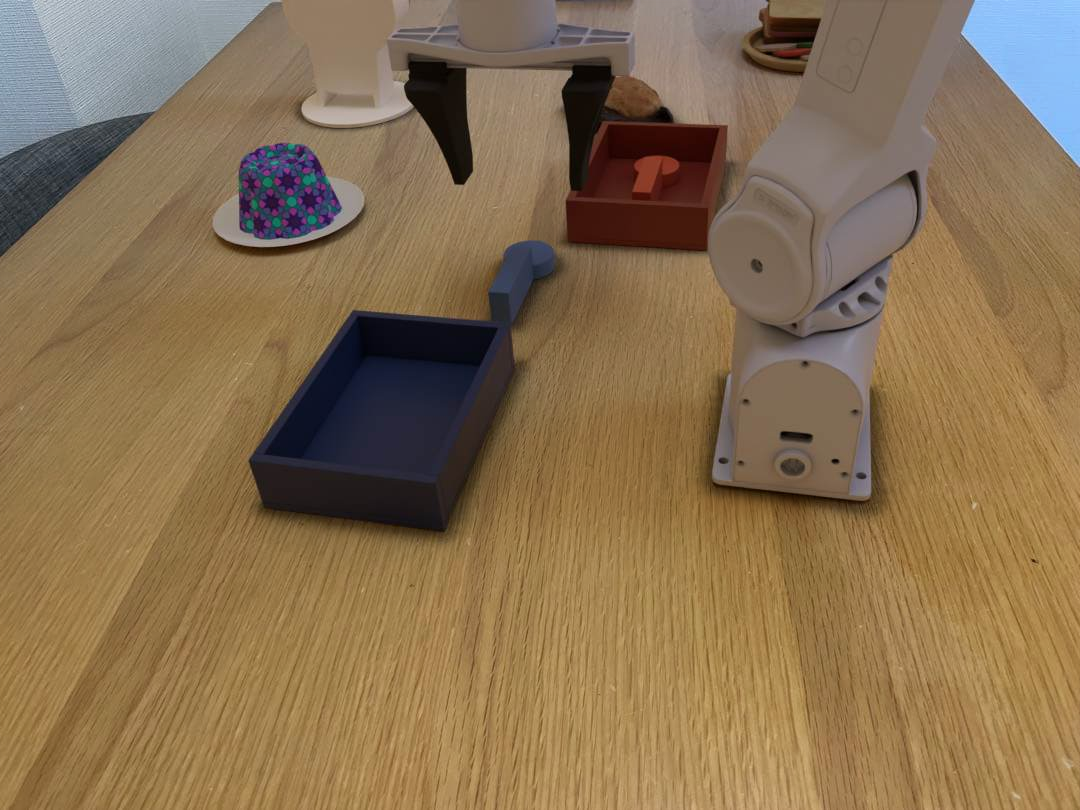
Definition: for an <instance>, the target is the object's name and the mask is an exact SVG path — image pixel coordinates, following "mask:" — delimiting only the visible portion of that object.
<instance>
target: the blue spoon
mask: <svg viewBox="0 0 1080 810" xmlns="http://www.w3.org/2000/svg"><path fill="white" fill-rule="evenodd" d="M502 257H503V263H502V264H501V266H500V268H499V270H498V272H497V273H496V276H495V278H494V279H493V281H492V283H491V286H490V287H489V289H488V291H487V293H488V294H487V295H488V302H489V310H490V318H491V321H493V322H505V323H510V324H511V327H512V326H513V324H514V322H515V320H516V318H517V316H518V313H519V311H520V309H521V307H522V305H523V303H524V301H525V299H526V297H527V294H528V292H529V290H530V287H531V286H532V283H533V282H534V281H535V280H538V279H543V278H545V277H547V276H549V275H550V274H551V273H552V272H553V271H555V270H554V269H555V267H556V261H555V250H554V248H553V246H552V245H551V244H549V243H547V242H544V241H542V240H535V239H534V240H532V239H531V240H521V241H518V242H515V243H512V244H510V245H509V246H507V247H506V248H505V250H504V251H503V254H502Z"/></svg>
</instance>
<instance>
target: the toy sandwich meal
mask: <svg viewBox="0 0 1080 810" xmlns="http://www.w3.org/2000/svg"><path fill="white" fill-rule="evenodd" d="M765 1H766V2H767V3H768V4H767V6H766V7H763V8H760V10H759V13H758V20H759V22H761V24H762V26H759V27H756V28H754V29H752V30H751V31H749V32H747V33H746V34H745V35H744V36H743V38H742V39H741V46H742V49H743V50H744V51H745V52H746V53H747V54H748V55H749V57H750V58H751V59H752V60H753V61H754V62H756V63H757V64H760V65H761V66H764V67H767V68H769V69H773V70H777V71H783V72H793V73H804V72H805V69H806V65H807V62H808V59H809V56H810V53H811V50H812V47H813V43H814V40H815V37H816V34H817V31H818V28H819V24H820V21H821V18H822V15H823V12H824V9H825V5H826V2H827V0H765Z"/></svg>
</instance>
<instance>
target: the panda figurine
mask: <svg viewBox="0 0 1080 810" xmlns="http://www.w3.org/2000/svg"><path fill="white" fill-rule="evenodd" d="M410 6H411V0H281V7H282V10H283V14H284V16H285V18H286V21H287V23H288V25H289V26H290V28H291V29H292V31H293V33H294V34H295V35H296V36H297V37H298V38H299V39H300V40H301V41H302V42H303V43H305V45H307V48H308V53H309V58H310V62H311V66H312V72H313V78H314V83H315V91H316V92H314V93H312V95H310V96H309V97H307V98H306V99H305V100H304V101H303V102H302V105H301V108H300V109H301V114H302V117H303V118H304V119H305V120H306V121H307V122H309V123H311V124H313V125H316V126H320V127H325V128H333V129H351V128H353V129H354V128H363V127H368V126H370V127H371V126H375V125H378V124H382V123H386V122H390V121H392V120H395V119H397V118H399V117H402V116H404V115H405V114H407V113H408V112H410V111H411V110H412V109H414V108H415V107H414V106H413V105H412V104H411V103H410V102H409V100H408V99H407V97H406V94H405V91H404V85H405V83H406V82H402V81H398V80H394V73H393V72H394V71H393V70H391V64H390V58H389V52H388V45H387V38H388V37H389V36H390V35H391V34H392V33H393V32H394V31H396V30H397V29H398V28H403V26H404V25H405V22H406V20H407V19H408V14H409V12H410Z"/></svg>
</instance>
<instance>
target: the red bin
mask: <svg viewBox="0 0 1080 810" xmlns="http://www.w3.org/2000/svg"><path fill="white" fill-rule="evenodd" d="M728 129H729V125H727V124H702V123H701V124H700V123H676V122H674V123H646V122H616V121H603V122H602V124H601V126H600V129H599V131H598V133H597V135H596V137H595V139H594V141H593V145H592V150H591V155H590V162H589V171H588V179H587V181H586V183H585V186H584V188H583V190H582V191H571V189H570V190H569V192H568V194H567V196H566V198H565V217H566V218H565V219H566V234H567V235H566V236H567V242H568V243H582V244H583V243H585V244H597V245H599V244H600V245H615V246H629V247H630V246H631V247H646V248H647V247H648V248H660V249H661V248H664V249H677V250H678V249H681V250H693V251H694V250H696V251H708V236H709V230H710V227H711V224H712V221H713V219H714V217H715V216H716V209H717V206H718V200H719V196H720V192H721V187H722V182H723V179H724V174H725V169H726V166H727V147H728V132H729V131H728ZM648 156H667V157H671V158H674V159H675V160H677V161H678V162H679V165H680V168H679V181H678V182H677V183H676V184H675V185H673V186H670V187H667V188H662V190H661V194H660V197H659V200H658V201H643V200H632V190H633V188H634V185H635V181H634V164H635V163H636V162H637V161H638V160H639V159H642V158H644V157H648Z"/></svg>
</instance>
